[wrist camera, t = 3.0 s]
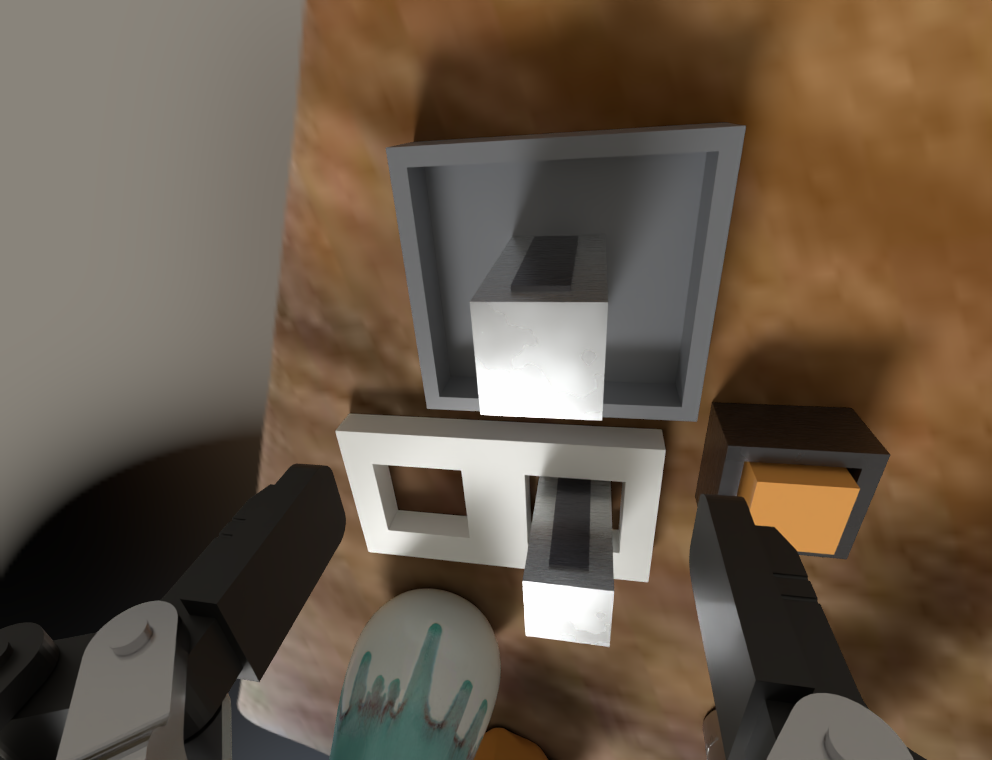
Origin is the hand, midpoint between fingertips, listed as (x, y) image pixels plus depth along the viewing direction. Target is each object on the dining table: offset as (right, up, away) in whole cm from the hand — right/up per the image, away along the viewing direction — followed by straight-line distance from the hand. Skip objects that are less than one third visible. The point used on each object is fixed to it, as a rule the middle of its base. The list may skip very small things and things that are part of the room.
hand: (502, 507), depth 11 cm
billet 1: (+3, +8, +13) cm, 16 cm away
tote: (+3, +8, +14) cm, 17 cm away
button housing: (+16, -2, +18) cm, 24 cm away
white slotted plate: (0, -5, +23) cm, 23 cm away
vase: (-5, -17, +31) cm, 36 cm away
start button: (+15, -3, +15) cm, 22 cm away
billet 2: (+5, -5, +22) cm, 23 cm away
